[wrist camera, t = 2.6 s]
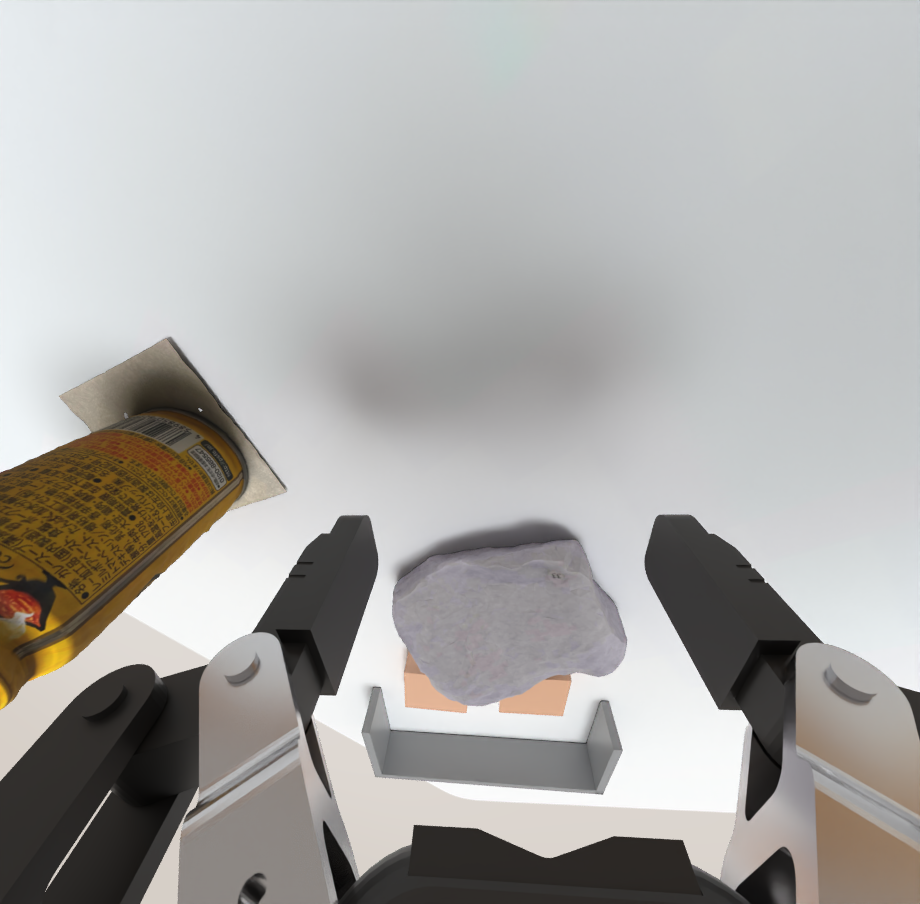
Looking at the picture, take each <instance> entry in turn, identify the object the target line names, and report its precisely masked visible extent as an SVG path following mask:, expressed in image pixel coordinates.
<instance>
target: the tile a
mask: <svg viewBox="0 0 920 904" xmlns="http://www.w3.org/2000/svg"><path fill="white" fill-rule="evenodd" d="M404 682H405V707H411V708H421V709H431V710H440V711H450V712H460V713H466V711H467V705H463V704H461V703H459V702H457V701H452V700H449V699H448V698H446V697H445V696H444V695H442V694H441V693H439V692H438V691H437V690H436V689H435V688H434V687H433V686H432V685H431V682H430V680H429V678H428V677H427V676H426V675H425V674H424V673H422V672H420V669H419V667H418V665H417V664H416V662H415V660H414V659H413V657H412V655H411V654H410V652H409V651H408V656H407V661H406V666H405V671H404Z"/></svg>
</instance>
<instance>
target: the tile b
mask: <svg viewBox="0 0 920 904" xmlns="http://www.w3.org/2000/svg"><path fill="white" fill-rule="evenodd" d="M570 685H571V677H570V674H569V675H565V676H564V675H555V676H552V677H549V678H547V679H545V680H543V681H541V682H539V683H538V684H536V685H534V686H533V687H532V688H530V689H529V690H527V691H526V692H524V693H523V694H521V695H516V696H513V697H510V698H505V699H503V700H501V701H499V712H502V713H519V714H536V715H553V716H563V713H564V709H565V705H566V701H567V697H568V693H569V689H570Z"/></svg>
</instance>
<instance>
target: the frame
mask: <svg viewBox="0 0 920 904" xmlns="http://www.w3.org/2000/svg"><path fill="white" fill-rule="evenodd" d="M361 733H362V736H363V739H364V742H365V745H366V749H367V751H368V755H369V758H370V761H371V764H372V768H373V771H374V774H375V777H382V778H395V779H408V780H421V781H434V782H447V783H460V784H473V785H486V786H499V787H512V788H525V789H538V790H551V791H564V792H577V793H590V794H603V793H604V791H605V788H606V786H607V784H608V782H609V780H610V777H611V775H612V773H613V771H614V769H615V766H616V764H617V762H618V760H619V758H620V756H621V753H622V751H623V750H622V746H621V743H620V739H619V735H618V732H617V728H616V725H615V721H614V718H613V714H612V711H611V707H610V704H609V702H608V701H601V702H600V705H599V708H598V711H597V714H596V717H595V720H594V723H593V726H592V728H591V731H590V734H589V737H588V740H587V743H586V744H582V743H568V742H553V741H538V740H523V739H509V738H494V737H479V736H465V735H450V734H435V733H420V732H406V731H391V730H390V726H389V721H388V717H387V713H386V708H385V704H384V700H383V695H382V691H381V688H375V687H373V690H372V694H371V698H370V702H369V706H368V709H367V713H366V717H365V721H364V725H363V728H362V732H361Z"/></svg>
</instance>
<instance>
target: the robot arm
mask: <svg viewBox="0 0 920 904" xmlns="http://www.w3.org/2000/svg"><path fill="white" fill-rule="evenodd" d="M377 570H378V553H377V549H376V544H375V539H374V535H373V530H372V525H371V521H370V518H369V516H367V515H345V516H340V517H339V518H338V520H337V522H336V524H335V525H334V527H333V529H332V531H331V532H330V534H321V535H319V536H318V537H317V538H316V539H315V540H314V541H312V542H311V543H310V544H309V545H308V546H307V547H306V548H305V550H304V551H303V553H302V555H301V556H300V558H299V559H298V561H297V565H295V566H294V567H293V569H292V570H291V572H290V574H289V578H286V580H285V582H284V583H283V585H282V586H281V588H280V590H279V591H278V593H277V594H276V596H275V598H274V599H273V601H272V602H271V604H270V605H269V607H268V609H267V610H266V612H265V613H264V615H263V617H262V618H261V620H260V621H259V623H258V625H257V626H256V628H255V629H254V631H253V632H252V634H249V635H245V636H243V637H241V638H238V639H237V640H235V641H233V642H231V643H230V644H228V645H227V646H226V647H224V648H223V649H222V650H221V651H220V652H219V653H218V654H217V655H216V656H215V657H214V658H213V659H212V660H211V661H210V663H209V664H208V665H205V666H202V667H198V668H194V669H191V670H187V671H184V672H180V673H177V674H174V675H170V676H167V677H163V678H159V676H158V675H157V674H156V673H155V671H154V670H153V669H152V668H151V667H150V666H147V665H144V664H143V665H142V664H136V665H130V666H126V667H123V668H121V669H118V670H115V671H114V672H111V673H109V674H107V675H106V676H104V677H102V678H100V679H99V680H97V681H96V682H95V683H93V684H92V685H91V686H89V687H88V688H86V689H85V690H84V691H83V692H81V693H80V694H79V695H78V696H77V697H76V698H75V699H74V700H73V701H72V702H71V703H70V704H69V705H68V706H67V707H66V708H65V710H64V711H63V712H62V713H61V714H60V715H59V716H58V717H57V719H56V720H55V721H54V722H53V723H52V724H51V725H50V726H49V728H48V729H47V730H46V731H45V732H44V733H43V734H42V735H41V736H40V738H39V739H38V740H37V741H36V742H35V743H34V744H33V745H32V747H31V748H30V749H29V750H28V751H27V752H26V753H25V754H24V756H23V757H22V758H21V759H20V760H19V761H18V762H17V763H16V764H15V766H14V767H13V768H12V769H11V770H10V771H9V772H8V773H7V775H6V776H5V777H4V778H3V779H2V780H1V781H0V904H140V903H141V901H142V899H143V897H144V894H145V893H146V891H147V889H148V886H149V885H150V883H151V881H152V878H153V877H154V875H155V873H156V871H157V869H158V867H159V865H160V863H161V861H162V859H163V857H164V855H165V853H166V851H167V849H168V847H169V845H170V843H171V841H172V838H173V837H174V835H175V833H176V830H177V829H178V826H179V824H180V823H181V821H182V818H183V817H184V815H185V813H186V811H187V808H188V807H189V805H190V803H191V801H192V799H193V797H194V795H195V793H196V791H197V788H198V787H199V799H198V803H197V806H196V808H194V809H193V810H191V811H190V812H189V813H188V814H187V815H186V818H185V820H184V823H183V827H182V831H181V838H180V854H179V882H178V904H920V692H916V691H912V690H909V689H905V688H902V687H898V686H896V685H895V683H894V682H893V681H892V680H890V679H889V678H888V677H887V676H886V675H885V674H884V673H882V672H881V671H880V670H878V669H877V668H876V667H874V666H873V665H871V664H870V663H868V662H867V661H865V660H864V659H862V658H860V657H858V656H856V655H854V654H852V653H850V652H848V651H846V650H843V649H841V648H838V647H835V646H832V645H828V644H824V643H823V642H822V641H821V640H820V639H819V638H818V637H817V636H816V635H815V634H814V633H813V632H812V631H811V630H810V628H809V627H808V626H807V625H806V624H805V623H804V622H803V621H802V620H801V619H800V618H799V616H798V615H797V614H796V613H795V612H794V611H793V610H792V609H791V608H790V607H789V606H788V605H787V603H786V602H785V601H784V600H783V599H782V598H781V597H780V596H779V595H778V594H777V593H776V591H775V590H774V589H773V588H772V587H771V586H770V585H769V584H768V583H765V582H764V578H763V577H762V576H761V575H760V574H759V573H758V572H757V571H756V570H755V569H754V568H751V564H750V563H749V562H748V561H747V560H746V559H745V558H744V557H743V555H742V554H741V553H740V552H739V551H738V550H737V549H736V548H735V547H733V546H732V545H730V544H729V543H727V542H726V541H724V540H723V539H721V538H720V537H718V536H717V535H715V534H708V532H707V531H706V530H705V529H704V528H703V527H702V526H701V524H700V523H699V522H698V521H697V520H696V519H695V518H694V517H693V516H692V515H658V516H657V517H656V519H655V522H654V525H653V529H652V533H651V536H650V540H649V544H648V547H647V551H646V554H645V570H646V574H647V577H648V580H649V582H650V583H651V585H652V587H653V589H654V591H655V593H656V594H657V596H658V598H659V600H660V602H661V604H662V605H663V607H664V609H665V611H666V613H667V615H668V617H669V618H670V620H671V622H672V624H673V626H674V628H675V629H676V631H677V633H678V635H679V637H680V639H681V640H682V642H683V644H684V646H685V648H686V650H687V651H688V653H689V655H690V657H691V659H692V661H693V663H694V664H695V666H696V668H697V670H698V672H699V674H700V675H701V677H702V679H703V681H704V683H705V685H706V686H707V688H708V690H709V692H710V694H711V696H712V698H713V699H714V701H715V703H716V705H717V707H718V709H719V710H742V711H743V713H744V715H745V716H746V718H747V720H748V721H749V724H748V726H747V727H746V730H745V736H744V745H743V755H742V764H741V774H740V783H739V793H738V802H737V811H736V820H735V826H734V830H733V834H732V837H731V840H730V842H729V845H728V848H727V850H726V854H725V857H724V862H723V867H722V871H721V878H720V880H719V879H717V878H716V877H714V876H712V875H710V874H708V873H707V872H705V871H703V870H702V869H700V868H698V867H696V866H694V865H692V864H691V862H690V859H689V857H688V854H687V851H686V848H685V845H684V843H683V840H669V839H652V838H634V837H616V836H614V837H611V838H608V839H605V840H602V841H600V842H597V843H594V844H591V845H588V846H586V847H583V848H580V849H577V850H574V851H571V852H568V853H566V854H563V855H560V856H557V857H554V858H544V857H541V856H538V855H536V854H534V853H531V852H529V851H527V850H525V849H523V848H520V847H518V846H516V845H513V844H511V843H509V842H506V841H504V840H502V839H500V838H498V837H495V836H493V835H491V834H489V833H486V832H484V831H482V830H479V829H474V828H455V827H440V826H439V827H438V826H422V825H414V829H413V839H412V845H409V846H406V847H403V848H401V849H399V850H397V851H395V852H393V853H392V854H389V855H388V856H386V857H384V858H383V859H382V860H380V861H379V862H378V863H377V864H375V865H374V866H373V867H371V868H370V869H369V870H368V871H367V872H365V873H364V874H363V875H362V876H361V877H359V874H358V870H357V866H356V863H355V859H354V855H353V852H352V848H351V845H350V842H349V838H348V835H347V832H346V829H345V826H344V823H343V821H342V818H341V815H340V812H339V809H338V806H337V803H336V799H335V795H334V791H333V788H332V784H331V780H330V777H329V772H328V769H327V765H326V761H325V758H324V754H323V750H322V746H321V742H320V738H319V735H318V731H317V727H316V723H315V719H314V716H313V711H314V709H315V706H316V703H317V701H318V698H319V695H335V696H336V694H337V691H338V688H339V685H340V682H341V679H342V676H343V673H344V670H345V667H346V664H347V661H348V658H349V655H350V653H351V650H352V647H353V644H354V641H355V638H356V635H357V632H358V629H359V626H360V623H361V620H362V617H363V614H364V611H365V608H366V605H367V602H368V599H369V596H370V594H371V591H372V588H373V585H374V582H375V579H376V575H377ZM109 790H111V791H112V792H111V794H110V795H109V797H108V798H107V800H106V801H105V803H104V804H103V806H102V807H101V809H100V810H99V812H98V813H97V815H96V816H95V818H94V819H93V821H92V822H91V824H90V825H89V827H88V828H87V830H86V831H85V833H84V835H83V836H82V837H81V839H80V840H79V842H78V844H77V845H76V847H75V848H74V849H73V851H72V853H71V854H70V856H69V858H68V859H67V860H66V862H65V863H64V865H63V866H62V868H61V869H60V871H59V872H58V874H57V875H56V877H55V878H54V880H53V881H52V883H51V884H50V886H49V887H48V889H47V890H46V888H47V886H48V884H49V882H50V880H51V878H52V876H53V875H54V873H55V871H56V870H57V868H58V867H59V865H60V864H61V862H62V861H63V859H64V858H65V856H66V855H67V853H68V852H69V850H70V849H71V847H72V846H73V844H74V843H75V841H76V840H77V838H78V837H79V835H80V834H81V832H82V831H83V829H84V828H85V826H86V825H87V823H88V822H89V820H90V819H91V817H92V816H93V814H94V813H95V811H96V810H97V808H98V807H99V805H100V804H101V802H102V801H103V799H104V798H105V796H106V795H107V793H108V792H109ZM45 891H46V892H45Z"/></svg>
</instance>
